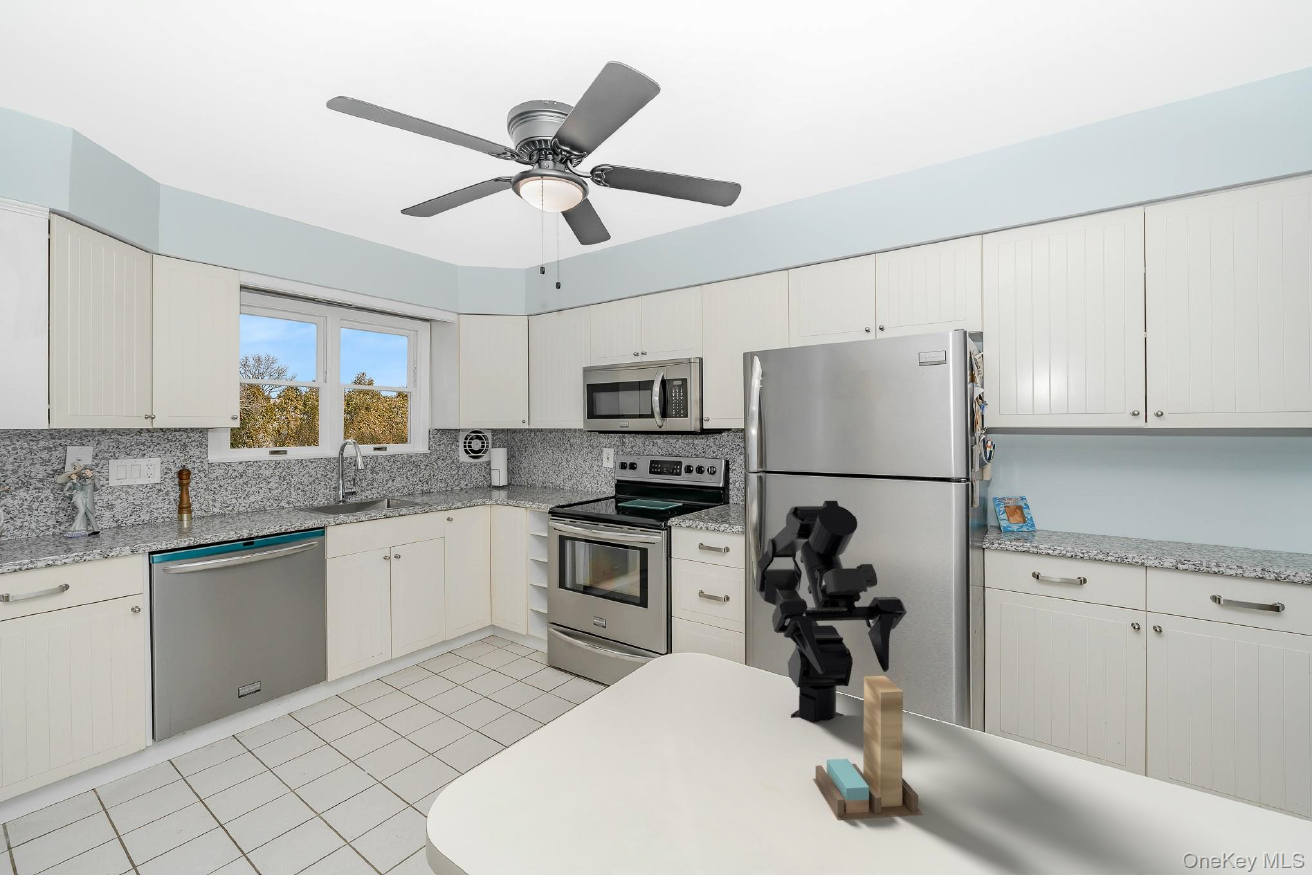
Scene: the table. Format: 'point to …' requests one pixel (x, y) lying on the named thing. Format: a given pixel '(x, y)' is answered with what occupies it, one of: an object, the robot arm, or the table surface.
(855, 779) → the offcut upper
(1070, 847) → the table surface
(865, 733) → the oak board
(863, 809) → the offcut lower
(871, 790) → the rack
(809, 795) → the table surface
